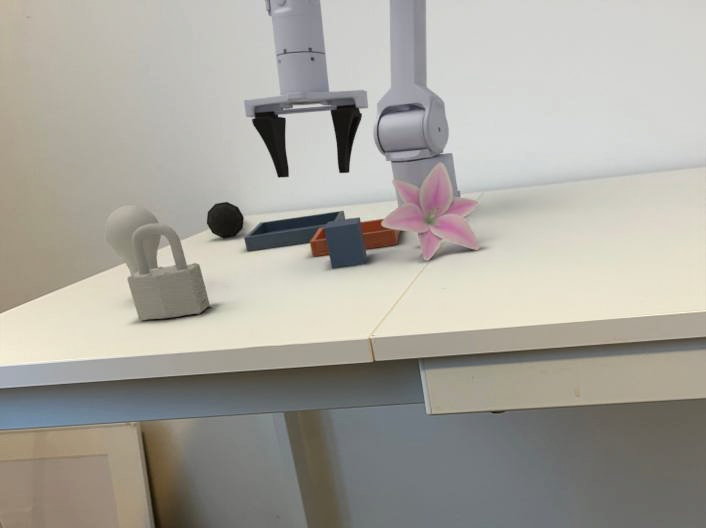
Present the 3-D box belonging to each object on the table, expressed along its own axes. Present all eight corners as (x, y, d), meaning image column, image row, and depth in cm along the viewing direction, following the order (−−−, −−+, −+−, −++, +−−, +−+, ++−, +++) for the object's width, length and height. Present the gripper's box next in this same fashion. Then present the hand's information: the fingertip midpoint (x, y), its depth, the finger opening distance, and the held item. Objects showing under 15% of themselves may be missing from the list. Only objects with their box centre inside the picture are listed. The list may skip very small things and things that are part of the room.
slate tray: (346, 223, 126) (343, 210, 125) (338, 238, 115) (335, 224, 115) (262, 235, 126) (260, 222, 125) (247, 251, 116) (243, 237, 115)
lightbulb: (134, 293, 100) (108, 205, 96) (183, 285, 100) (159, 197, 97) (118, 307, 95) (90, 214, 91) (170, 299, 95) (144, 206, 91)
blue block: (367, 256, 102) (359, 217, 100) (364, 263, 98) (356, 223, 96) (335, 260, 102) (328, 221, 100) (332, 268, 98) (323, 228, 96)
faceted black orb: (230, 237, 145) (217, 245, 125) (213, 209, 143) (197, 212, 124) (257, 223, 145) (248, 229, 126) (241, 194, 144) (229, 195, 124)
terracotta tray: (399, 230, 114) (397, 216, 114) (396, 244, 106) (394, 229, 105) (322, 241, 115) (319, 227, 114) (312, 256, 106) (309, 241, 105)
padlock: (136, 323, 87) (109, 231, 83) (152, 311, 90) (127, 223, 87) (199, 315, 86) (174, 223, 82) (212, 304, 90) (189, 215, 86)
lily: (373, 274, 96) (383, 207, 90) (382, 218, 105) (391, 153, 98) (472, 290, 98) (488, 225, 91) (473, 233, 106) (488, 170, 100)
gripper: (228, 57, 91) (243, 179, 94) (352, 45, 89) (363, 171, 92) (252, 65, 98) (265, 178, 101) (367, 54, 96) (378, 170, 99)
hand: (313, 175), depth 97 cm, fingers open, 7 cm apart
